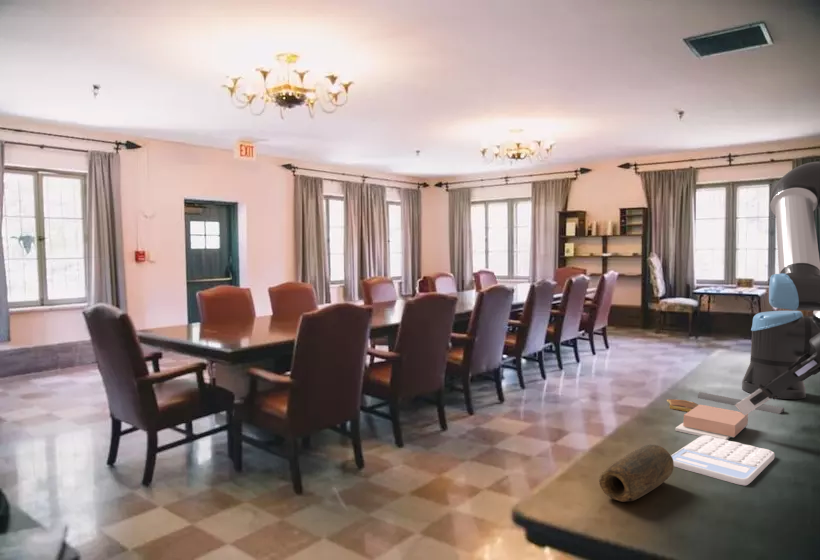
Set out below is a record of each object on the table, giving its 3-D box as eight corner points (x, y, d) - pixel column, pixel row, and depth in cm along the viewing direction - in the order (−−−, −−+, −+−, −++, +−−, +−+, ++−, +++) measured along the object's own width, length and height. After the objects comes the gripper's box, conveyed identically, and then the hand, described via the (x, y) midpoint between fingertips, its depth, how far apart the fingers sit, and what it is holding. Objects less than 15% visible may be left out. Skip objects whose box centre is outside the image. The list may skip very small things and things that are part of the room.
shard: (713, 419, 131) (713, 412, 131) (680, 418, 131) (681, 411, 131) (692, 406, 142) (692, 399, 142) (662, 405, 142) (662, 398, 142)
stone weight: (634, 472, 97) (635, 435, 97) (675, 485, 92) (677, 446, 92) (594, 498, 87) (596, 457, 86) (638, 514, 82) (640, 470, 82)
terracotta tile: (747, 425, 123) (699, 415, 130) (748, 413, 123) (699, 404, 130) (734, 438, 114) (683, 426, 121) (735, 425, 114) (683, 414, 121)
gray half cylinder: (702, 397, 151) (702, 390, 151) (785, 413, 137) (785, 406, 137) (696, 399, 149) (696, 393, 148) (780, 416, 134) (780, 409, 134)
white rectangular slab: (696, 415, 132) (696, 412, 132) (743, 424, 126) (743, 422, 125) (675, 430, 121) (675, 427, 121) (725, 441, 114) (725, 438, 114)
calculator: (776, 459, 106) (776, 449, 106) (746, 489, 92) (746, 478, 92) (701, 441, 115) (702, 432, 115) (664, 466, 101) (665, 456, 101)
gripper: (855, 363, 100) (746, 431, 112) (861, 354, 110) (760, 417, 122) (821, 331, 103) (719, 400, 116) (830, 325, 113) (734, 390, 125)
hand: (740, 409), depth 119 cm, fingers closed
